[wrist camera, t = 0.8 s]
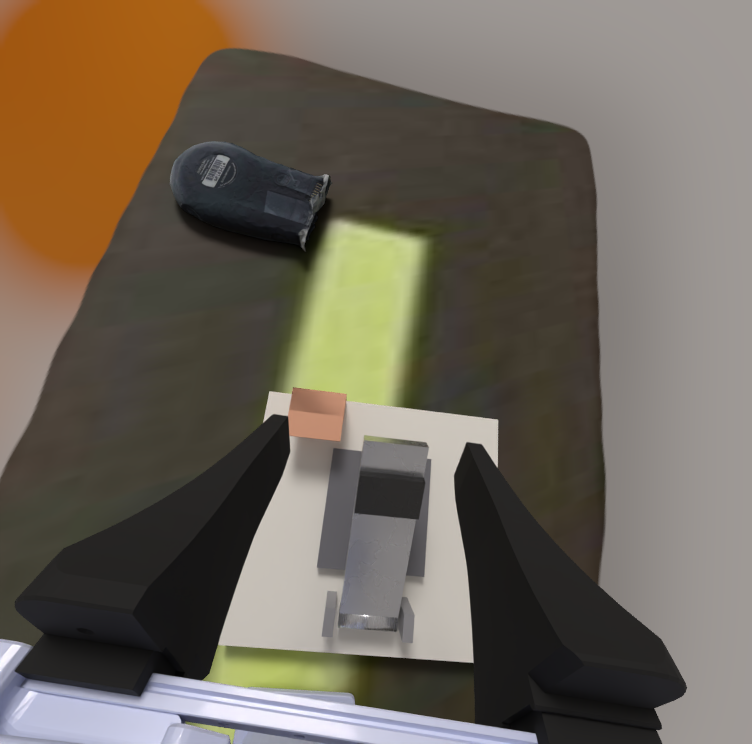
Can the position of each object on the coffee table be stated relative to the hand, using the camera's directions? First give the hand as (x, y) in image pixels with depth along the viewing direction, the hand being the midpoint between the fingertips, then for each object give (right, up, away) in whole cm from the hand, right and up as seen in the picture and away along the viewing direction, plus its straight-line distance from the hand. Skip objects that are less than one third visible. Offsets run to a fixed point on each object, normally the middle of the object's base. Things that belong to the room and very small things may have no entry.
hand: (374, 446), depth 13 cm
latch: (-5, -1, +13) cm, 14 cm away
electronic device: (-13, +21, +20) cm, 32 cm away
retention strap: (0, -8, +8) cm, 11 cm away
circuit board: (0, -9, +13) cm, 16 cm away
